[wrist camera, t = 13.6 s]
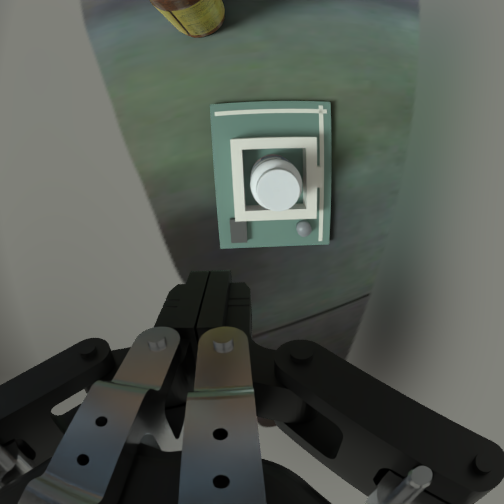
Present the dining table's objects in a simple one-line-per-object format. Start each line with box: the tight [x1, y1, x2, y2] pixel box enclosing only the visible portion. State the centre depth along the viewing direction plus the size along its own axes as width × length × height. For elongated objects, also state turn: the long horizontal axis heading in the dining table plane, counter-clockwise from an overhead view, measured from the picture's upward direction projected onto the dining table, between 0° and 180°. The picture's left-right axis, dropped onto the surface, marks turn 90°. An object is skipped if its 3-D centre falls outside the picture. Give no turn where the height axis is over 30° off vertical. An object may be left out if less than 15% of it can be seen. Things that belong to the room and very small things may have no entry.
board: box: [210, 101, 331, 249], centre depth 35 cm, size 18×14×4 cm
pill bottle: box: [250, 155, 302, 211], centre depth 31 cm, size 5×5×9 cm
